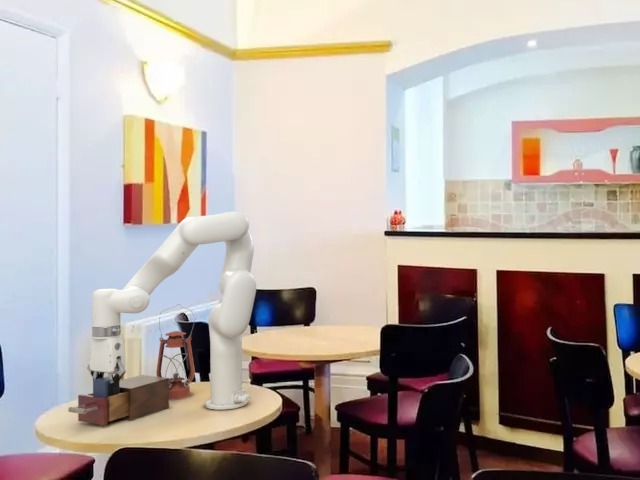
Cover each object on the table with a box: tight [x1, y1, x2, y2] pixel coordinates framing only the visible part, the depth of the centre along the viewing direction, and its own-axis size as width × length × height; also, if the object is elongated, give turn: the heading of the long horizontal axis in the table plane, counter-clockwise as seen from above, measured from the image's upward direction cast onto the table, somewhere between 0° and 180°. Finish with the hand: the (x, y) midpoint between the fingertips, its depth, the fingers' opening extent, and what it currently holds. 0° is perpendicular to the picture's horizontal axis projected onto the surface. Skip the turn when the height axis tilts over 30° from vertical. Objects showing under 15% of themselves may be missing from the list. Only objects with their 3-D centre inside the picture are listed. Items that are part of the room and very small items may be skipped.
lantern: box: [155, 303, 196, 401], centre depth 226 cm, size 10×10×30 cm
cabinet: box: [119, 374, 170, 421], centre depth 207 cm, size 15×12×9 cm
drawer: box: [67, 390, 129, 426], centre depth 196 cm, size 18×10×7 cm, turn 154°
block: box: [92, 375, 120, 399], centre depth 197 cm, size 5×5×5 cm
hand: (106, 394), depth 197 cm, fingers closed on block, 5 cm apart
